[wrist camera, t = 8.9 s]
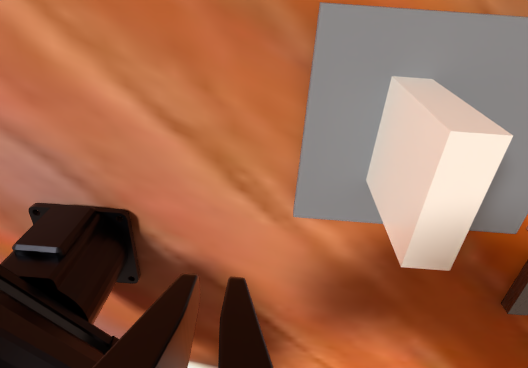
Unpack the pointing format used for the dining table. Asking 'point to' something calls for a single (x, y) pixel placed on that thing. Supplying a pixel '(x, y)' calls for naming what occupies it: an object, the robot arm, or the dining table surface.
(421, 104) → the tile
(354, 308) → the dining table surface
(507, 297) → the turner
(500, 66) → the mat
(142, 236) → the dining table surface
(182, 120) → the dining table surface
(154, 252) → the dining table surface
